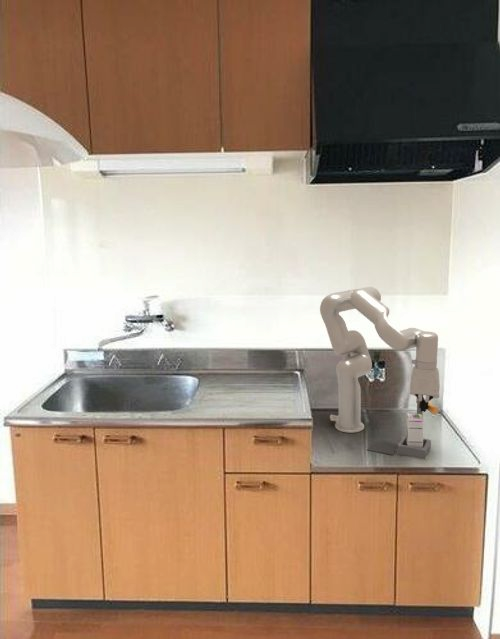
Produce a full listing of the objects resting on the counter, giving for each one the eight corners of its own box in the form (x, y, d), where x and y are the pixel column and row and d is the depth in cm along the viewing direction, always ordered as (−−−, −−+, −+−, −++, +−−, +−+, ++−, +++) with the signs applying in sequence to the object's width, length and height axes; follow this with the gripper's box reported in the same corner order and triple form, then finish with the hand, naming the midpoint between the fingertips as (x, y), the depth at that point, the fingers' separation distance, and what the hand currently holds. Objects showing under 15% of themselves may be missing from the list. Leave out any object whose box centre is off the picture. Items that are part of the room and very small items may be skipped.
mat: (367, 450, 196) (367, 449, 196) (374, 440, 205) (374, 439, 205) (392, 455, 191) (392, 454, 191) (398, 445, 200) (398, 444, 200)
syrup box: (423, 454, 191) (424, 419, 188) (407, 453, 192) (408, 418, 189) (421, 448, 196) (422, 413, 194) (405, 447, 198) (406, 412, 195)
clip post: (410, 442, 201) (411, 404, 198) (412, 438, 206) (413, 400, 202) (425, 445, 198) (426, 406, 195) (427, 440, 203) (429, 402, 199)
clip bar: (431, 414, 187) (432, 409, 186) (414, 401, 200) (415, 397, 200) (439, 413, 187) (439, 408, 187) (421, 401, 200) (422, 396, 200)
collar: (397, 453, 192) (397, 445, 192) (403, 443, 201) (404, 435, 201) (425, 459, 187) (425, 450, 187) (430, 448, 196) (430, 439, 195)
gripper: (403, 364, 187) (401, 410, 191) (445, 370, 180) (442, 417, 183) (407, 359, 193) (406, 404, 197) (448, 364, 186) (445, 410, 190)
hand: (423, 410), depth 190 cm, fingers closed
